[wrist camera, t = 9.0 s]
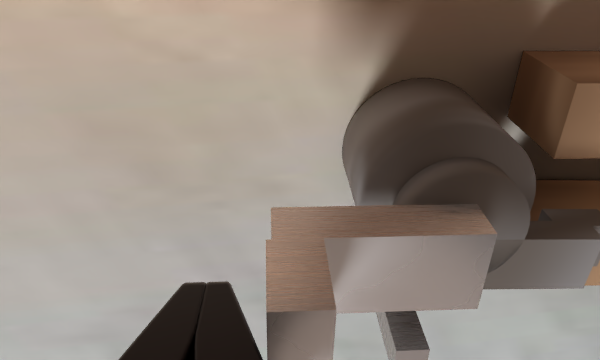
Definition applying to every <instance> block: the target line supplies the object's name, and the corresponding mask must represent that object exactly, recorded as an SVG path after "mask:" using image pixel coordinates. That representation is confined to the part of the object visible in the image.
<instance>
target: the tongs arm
mask: <svg viewBox="0 0 600 360" xmlns="http://www.w3.org/2000/svg"><path fill="white" fill-rule="evenodd" d="M428 204H477V205H478V206H479V208H480V209H481V211H482V212H483V214H484V215H485V216H486V218H487V219H488V221H489V222H490V224H491V225H492V227H493V228H494V229H495V231H496V232H497V234H498V235H497V238H496V242H495V246H494V250H493V253H492V257H491V261H490V264H489V268H488V272H487V275H486V279H485V283H484V286H483V289H564V288H584V285H600V181H591V180H536V193H535V198H534V203H533V206H532V209H531V211H530V209H529V204H528V202H527V199H526V197H525V196H524V194H523V193H522V191H521V190H520V189H519V188H518V187H517V186H516V185H515V183H514V182H513V181H512V180H511V179H510V178H509V177H508V175H507V174H506V173H505V172H504V171H503V170H502V169H500V168H499V167H498V166H496V165H495V164H493V163H491V162H489V161H486V160H483V159H478V158H471V157H458V158H451V159H447V160H443V161H440V162H437V163H435V164H432V165H430V166H428V167H426V168H424V169H423V170H421V171H420V172H418V173H417V174H415V175H414V176H413V177H412V178H411V179H410V180H409V181H408V182H407V183H406V184H405V185H404V186H403V187H402V189H401V190H400V191H399V193H398V195H397V196H396V198H395V200H394V203H393V205H428Z"/></svg>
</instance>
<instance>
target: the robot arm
mask: <svg viewBox="0 0 600 360" xmlns="http://www.w3.org/2000/svg"><path fill="white" fill-rule="evenodd" d="M119 360H263V359H262V357H261V354H260V352H259V350H258V347H257V345H256V343H255V340H254V338H253V336H252V333H251V331H250V328H249V326H248V324H247V321H246V319H245V317H244V314H243V312H242V310H241V307H240V305H239V303H238V300H237V298H236V296H235V293H234V291H233V289H232V286H231V284H230V283H229V282H208V283H205V282H194V283H184V284H183V285H182V286H181V287H180V288H179V289H178V290H177V291H176V292H175V294H174V295H173V296H172V297H171V298H170V300H169V301H168V302H167V303H166V304H165V305H164V307H163V308H162V309H161V310H160V311H159V313H158V314H157V315H156V316H155V317H154V318H153V320H152V321H151V322H150V323H149V324H148V326H147V327H146V328H145V329H144V330H143V331H142V333H141V334H140V335H139V336H138V337H137V338H136V340H135V341H134V342H133V343H132V344H131V346H130V347H129V348H128V349H127V350H126V351H125V353H124V354H123V355H122V356H121V357H120V359H119Z"/></svg>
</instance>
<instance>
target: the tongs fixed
mask: <svg viewBox="0 0 600 360" xmlns="http://www.w3.org/2000/svg"><path fill="white" fill-rule="evenodd" d="M507 117H508V118H509V119H510V120H511V121H513V122H514V123H515V124H516V125H517V126H518V127H519V128H520V129H521V130H522V131H524V132H525V133H526V134H527V135H528V136H529V137H530V138H531V139H532V140H534V141H535V142H536V143H537V144H538V145H539V146H540V147H541V148H542V149H543V150H545V151H546V152H547V153H548V154H549V155H550V156H551V157H552V158H553V159H586V158H600V51H523V55H522V59H521V63H520V67H519V71H518V75H517V79H516V83H515V87H514V91H513V95H512V99H511V103H510V107H509V112H508V116H507ZM458 157H471V158H478V159H483V160H486V161H489V162H491V163H493V164H495V165H496V166H498V167H499V168H500V169H502V170H503V171H504V172H505V173H506V174H507V175H508V177H509V178H510V179H511V180H512V181H513V182H514V183H515V185H516V186H517V187H518V188H519V189H520V190H521V191H522V193H523V194H524V196H525V197H526V199H527V202H528V204H529V209H530V211H531V209H532V206H533V203H534V198H535V193H536V176H535V172H534V168H533V165H532V162H531V160H530V158H529V156H528V155H527V153H526V152H525V150H524V149H523V148H522V147H521V146H520V145H519V144H518V143H517V142H516V141H515V140H514V139H513V138H512V137H511V136H510V135H509V134H508V133H507V132H506V131H505V130H504V129H503V128H502V127H501V126H500V125H499V124H498V123H497V122H496V121H495V120H494V119H493V118H491V117H490V116H489V115H488V114H487V113H486V112H485V111H484V110H483V109H482V108H481V107H480V106H479V105H478V104H477V103H476V102H475V101H474V100H473V99H472V98H471V97H470V96H469V95H468V94H467V93H466V92H464V91H463V90H462V89H460V88H459V87H457V86H455V85H453V84H451V83H448V82H445V81H443V80H438V79H431V78H417V79H409V80H404V81H401V82H398V83H395V84H392V85H390V86H388V87H386V88H384V89H382V90H380V91H379V92H377V93H376V94H374V95H373V96H372V97H370V98H369V99H368V100H367V101H366V102H365V103H364V104H363V105H362V106H361V107H360V108H359V109H358V111H357V112H356V113H355V115H354V116H353V118H352V120H351V121H350V123H349V125H348V128H347V130H346V133H345V136H344V140H343V147H342V158H343V164H344V168H345V171H346V174H347V178H348V181H349V185H350V188H351V191H352V195H353V198H354V201H355V205H356V206H378V205H393V203H394V200H395V198H396V196H397V195H398V193H399V191H400V190H401V189H402V187H403V186H404V185H405V184H406V183H407V182H408V181H409V180H410V179H411V178H412V177H413V176H414V175H415V174H417V173H418V172H420V171H421V170H423V169H424V168H426V167H428V166H430V165H432V164H435V163H437V162H440V161H443V160H447V159H451V158H458Z"/></svg>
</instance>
